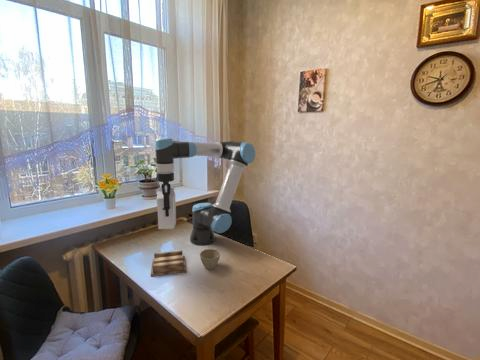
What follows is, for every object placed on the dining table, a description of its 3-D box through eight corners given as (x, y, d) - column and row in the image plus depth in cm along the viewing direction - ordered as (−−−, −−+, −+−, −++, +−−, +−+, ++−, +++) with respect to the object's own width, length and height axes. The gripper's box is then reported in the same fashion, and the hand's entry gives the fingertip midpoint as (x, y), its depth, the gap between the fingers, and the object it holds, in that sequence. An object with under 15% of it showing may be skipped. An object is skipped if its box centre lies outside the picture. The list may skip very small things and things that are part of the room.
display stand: (184, 257, 132) (184, 249, 131) (185, 271, 119) (185, 263, 118) (152, 260, 128) (152, 252, 127) (150, 276, 115) (150, 267, 114)
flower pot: (203, 274, 118) (203, 260, 116) (197, 264, 126) (197, 251, 125) (223, 269, 122) (223, 256, 121) (215, 259, 131) (215, 247, 129)
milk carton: (161, 223, 122) (159, 186, 118) (176, 223, 123) (174, 186, 119) (158, 229, 115) (156, 190, 111) (174, 229, 116) (172, 190, 112)
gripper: (157, 168, 122) (159, 212, 127) (155, 177, 103) (158, 228, 107) (173, 168, 124) (174, 211, 129) (174, 176, 105) (176, 226, 110)
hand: (167, 219), depth 118 cm, fingers closed on milk carton, 8 cm apart
